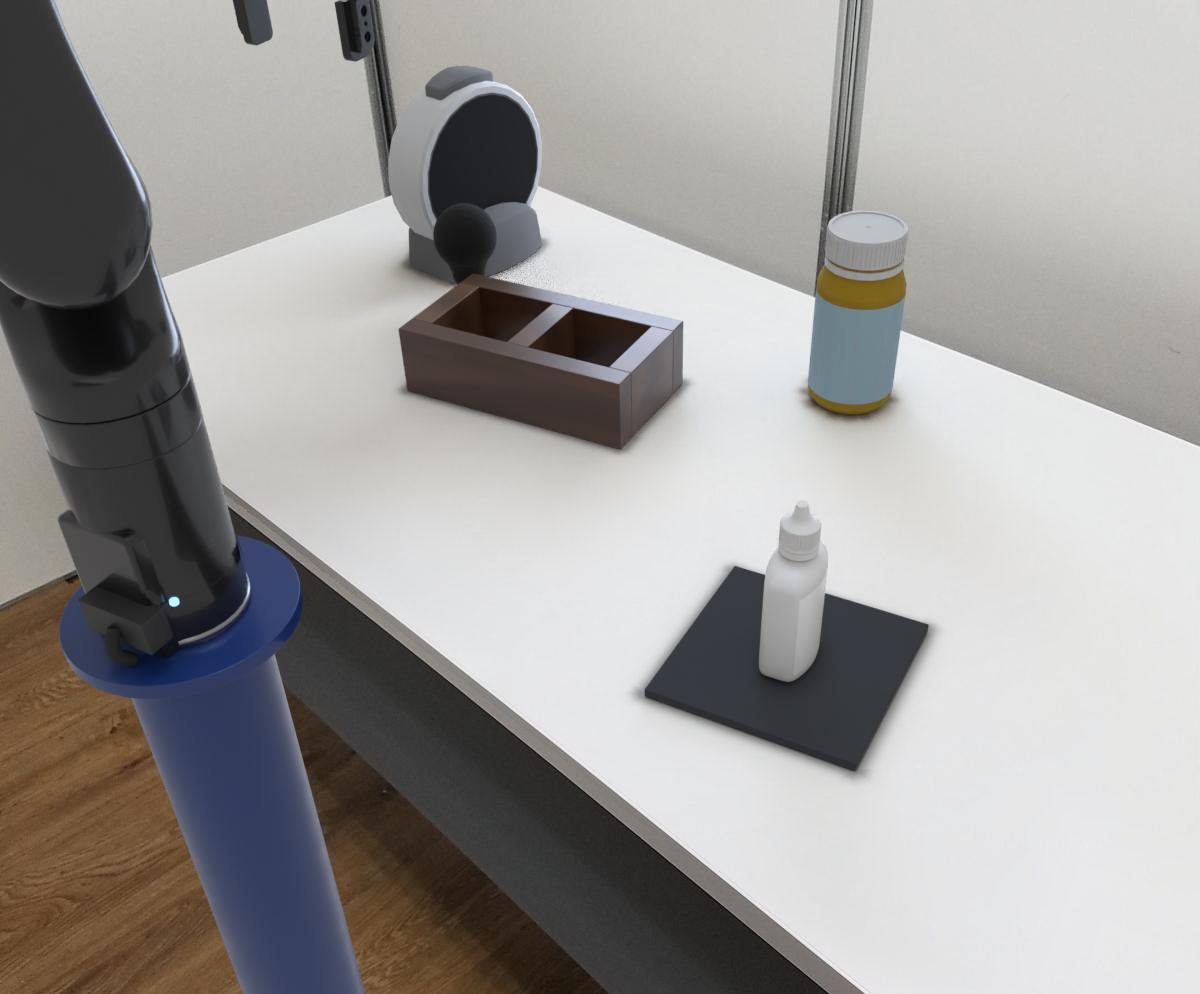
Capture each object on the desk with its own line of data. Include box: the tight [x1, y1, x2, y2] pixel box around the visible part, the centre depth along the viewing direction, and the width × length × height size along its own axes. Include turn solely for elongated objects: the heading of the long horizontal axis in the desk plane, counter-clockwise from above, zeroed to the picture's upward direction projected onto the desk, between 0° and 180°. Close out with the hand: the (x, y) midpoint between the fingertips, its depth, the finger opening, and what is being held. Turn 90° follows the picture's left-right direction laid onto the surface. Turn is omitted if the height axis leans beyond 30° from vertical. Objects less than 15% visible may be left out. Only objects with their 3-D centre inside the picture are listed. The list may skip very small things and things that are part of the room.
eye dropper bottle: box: [759, 500, 829, 682], centre depth 77 cm, size 4×6×12 cm
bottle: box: [807, 209, 909, 415], centre depth 102 cm, size 7×7×15 cm
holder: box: [397, 274, 684, 450], centre depth 107 cm, size 12×21×6 cm, turn 61°
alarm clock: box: [387, 65, 543, 285], centre depth 124 cm, size 16×10×18 cm, turn 136°
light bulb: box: [433, 203, 497, 286], centre depth 118 cm, size 6×6×10 cm
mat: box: [644, 565, 930, 771], centre depth 81 cm, size 14×14×1 cm
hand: (308, 49), depth 85 cm, fingers open, 8 cm apart
